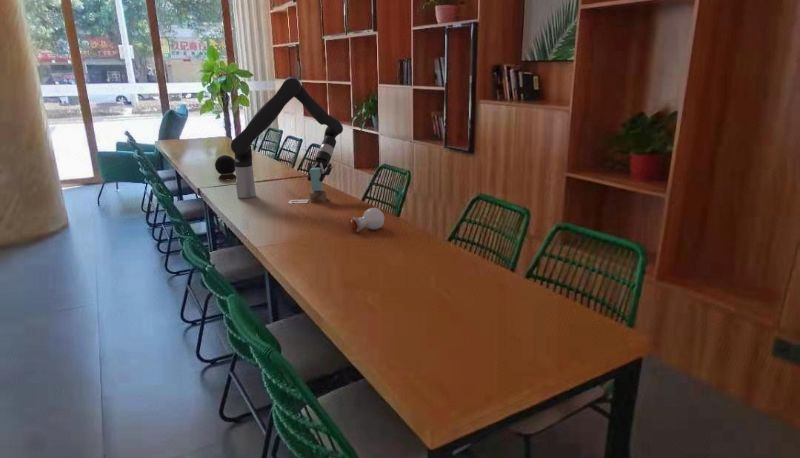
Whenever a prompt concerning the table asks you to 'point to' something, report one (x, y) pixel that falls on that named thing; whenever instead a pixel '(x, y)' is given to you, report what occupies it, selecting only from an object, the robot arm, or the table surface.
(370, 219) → the potion bottle
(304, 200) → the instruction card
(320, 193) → the walnut base brick
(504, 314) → the table surface
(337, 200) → the table surface
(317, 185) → the teal brick
